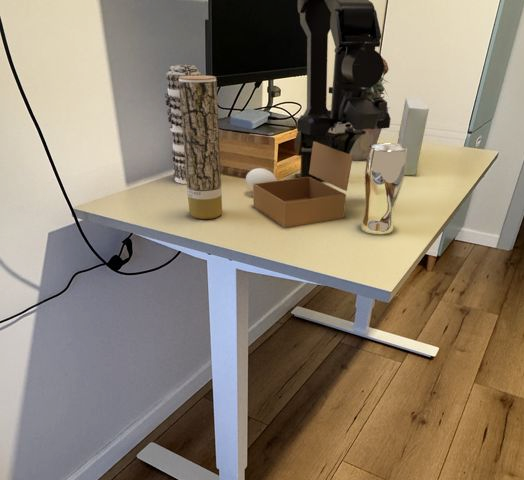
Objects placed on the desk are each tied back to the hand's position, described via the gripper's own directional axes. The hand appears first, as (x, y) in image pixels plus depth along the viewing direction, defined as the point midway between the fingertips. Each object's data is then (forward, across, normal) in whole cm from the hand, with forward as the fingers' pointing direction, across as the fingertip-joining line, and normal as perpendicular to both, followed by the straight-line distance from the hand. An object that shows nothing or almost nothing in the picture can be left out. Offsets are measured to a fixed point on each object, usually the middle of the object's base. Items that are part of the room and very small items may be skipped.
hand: (340, 167), depth 102 cm
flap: (-1, -3, 0) cm, 3 cm away
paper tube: (+8, -28, +7) cm, 30 cm away
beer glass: (+8, -1, -15) cm, 18 cm away
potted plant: (+8, +29, +36) cm, 47 cm away
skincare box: (+8, +36, +21) cm, 43 cm away
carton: (+8, -10, 0) cm, 13 cm away
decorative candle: (+8, -22, +34) cm, 41 cm away
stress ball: (+8, -11, +15) cm, 20 cm away
